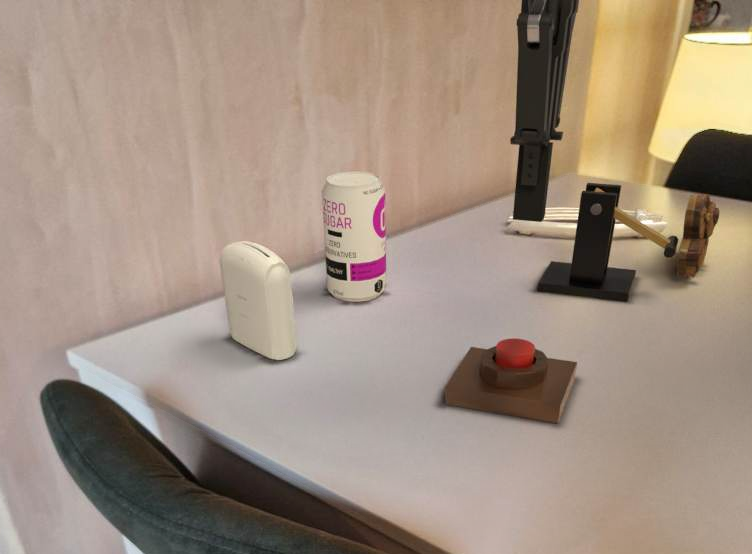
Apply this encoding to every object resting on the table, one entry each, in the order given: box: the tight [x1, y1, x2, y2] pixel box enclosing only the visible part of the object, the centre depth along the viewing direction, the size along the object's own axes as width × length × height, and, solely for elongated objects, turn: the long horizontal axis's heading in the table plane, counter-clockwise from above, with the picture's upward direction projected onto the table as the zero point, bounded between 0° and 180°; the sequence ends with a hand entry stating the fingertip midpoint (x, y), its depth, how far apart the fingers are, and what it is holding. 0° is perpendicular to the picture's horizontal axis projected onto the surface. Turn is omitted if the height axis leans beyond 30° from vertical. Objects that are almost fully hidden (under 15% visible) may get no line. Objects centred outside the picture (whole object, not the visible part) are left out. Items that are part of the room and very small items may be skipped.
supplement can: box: [321, 171, 387, 303], centre depth 102 cm, size 8×8×15 cm
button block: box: [444, 345, 578, 424], centre depth 82 cm, size 12×10×4 cm
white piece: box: [506, 207, 668, 239], centre depth 125 cm, size 3×10×25 cm
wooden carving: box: [676, 193, 720, 278], centre depth 108 cm, size 16×5×10 cm, turn 160°
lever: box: [594, 188, 679, 259], centre depth 100 cm, size 13×5×2 cm, turn 68°
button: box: [495, 338, 536, 369], centre depth 80 cm, size 4×4×2 cm
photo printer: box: [219, 240, 298, 361], centre depth 90 cm, size 10×4×12 cm, turn 41°
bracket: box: [537, 182, 637, 302], centre depth 103 cm, size 12×9×13 cm
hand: (528, 218), depth 72 cm, fingers closed
